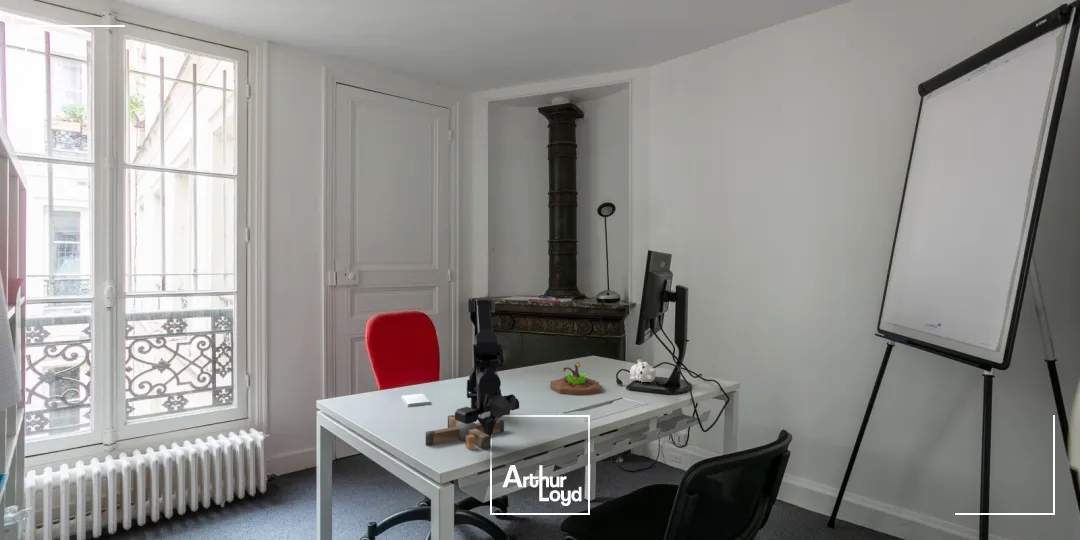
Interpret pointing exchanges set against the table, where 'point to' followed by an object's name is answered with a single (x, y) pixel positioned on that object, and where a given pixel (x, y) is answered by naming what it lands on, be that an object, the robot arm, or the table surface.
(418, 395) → the hard drive
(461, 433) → the stool base
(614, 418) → the table surface
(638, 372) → the cat figurine
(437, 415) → the table surface
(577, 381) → the plant
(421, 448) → the table surface
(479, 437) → the folding leg
